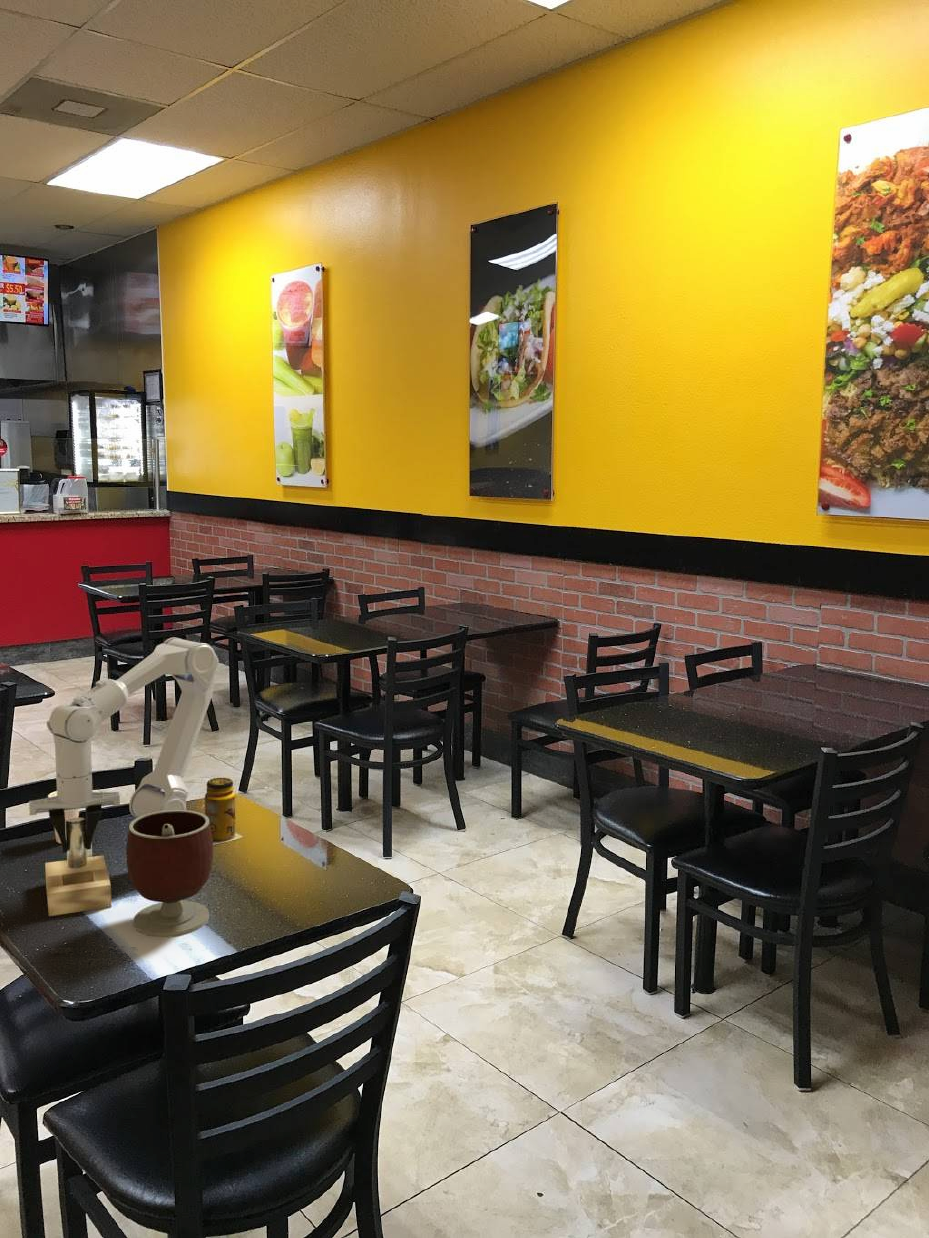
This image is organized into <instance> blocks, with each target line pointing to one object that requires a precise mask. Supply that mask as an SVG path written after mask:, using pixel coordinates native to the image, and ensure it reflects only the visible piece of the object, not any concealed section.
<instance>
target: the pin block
mask: <svg viewBox="0 0 929 1238" xmlns="http://www.w3.org/2000/svg"><path fill="white" fill-rule="evenodd" d="M105 859H106V858H105V855H97V856H92V857H87V865H86V866H84V867H81V868H69V867H68V866H67V859H66V860H57V861H51V862H49V861H48V862H45V863H44V865H45V867H44V868H45V869H44V870H45V888H46V898H47V900H46V901H47V908H48V909H47V910H48V912H47V913H48V916H49V917H52V916H60V915H67V914H74V913H79V912H85V911H92V910H99V909H107V908H112V888H111V887H112V885H111V879H110V876H109V872H108V867H107V863H106V860H105ZM106 907H107V908H106Z"/></svg>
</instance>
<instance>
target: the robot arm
mask: <svg viewBox="0 0 929 1238" xmlns="http://www.w3.org/2000/svg"><path fill="white" fill-rule="evenodd" d="M219 661H220V660H219V658H218V656H217V654H216V652H215V650H214V648H213V647H212V646H211V645H210V644H209V643H205V642H204V643H203V642H196V641H191V640H187V639H182V638H181V637H180V638H179V637H170V638H168V639H166V640H165V641H164V642H163V643H160V644H157V645H156V647H155V649H154V651H153V652H152V653H150V654H149V655H148V656H146V658H145V657H144V659H143V660H142V661H139V663H137V664H136V665H135V666H134V667H132V668H131V669H129V670H128V671H127V672H126V673H124V674H123V675H122V676H120V677H119V678H118V679H116V680H115V679H111V678H106V679H99V680H98V681H96V682H95V686H94V687H92V688H90V690H88V691H87V692H84V693H83V694H82V695H80V696H79V695H77V696H76V697H74V698H73V699H72V702H71V703H68V702H66V703H65V702H64V703H61V704H59V705H58V706H56V707H55V708H54V709H53V710H52V712H51V713H50V716H49V720H47V721H46V727H47V729H48V731H49V732H50V733H51V734H52V736H53V743H54V750H55V751H54V752H55V755H54V756H55V777H56V779H55V780H56V791H57V796H54V797H50V798H48V797H46V798H41V799H35V800H29V801H28V806H29V809H28V810H29V816H35V815H37V814H43V813H48V817H49V821H50V822H51V824H52V825H53V828H54V827H55V829H56V831H57V833H58V835H59V838H60V841H61V843H60V844H61V847H62V848H61V849H62V853H67V842H66V832H65V812H64V810H72V809H79V810H80V809H85V811H84V812H85V820H86V848H87V849H91V843H92V844H93V838H94V833H95V831H96V828H97V825H98V823H99V822H100V819H101V817H102V814H103V808H102V807H106V806H113V807H117V806H121V799H120V798H121V795H120V792H119V791H110V792H109V791H108V792H106V791H105V792H103V791H102V792H100V791H98V792H93V776H92V775H93V774H92V773H93V772H92V771H93V770H92V744H91V743H92V742H91V741H92V739H91V738H93V736H94V735H95V734H96V732H97V730H98V727H99V726H100V725H101V724H102V722H104V721H105V720H107V719H108V718H109V717H111V716H112V715H114V714H115V713H117V712H118V711H120V710H121V709H123V708H124V707H126V706H127V704H128V702H129V701H128V700H129V696H130V695H132V694H133V693H135V692H137V691H139V690H141V689H142V688H143V687H145V686H147V685H148V684H150V683H152V682H153V681H156V680H157V679H159V678H161V677H162V676H164V675H171V676H172V677H173V679H175V681H176V682H177V684H178V686H179V688H180V690H181V694H180V697H179V700H178V702H177V705H176V708H175V711H174V713H173V716H172V719H171V722H170V724H169V728H168V730H167V734H166V736H165V738H164V741H163V745H162V747H161V750H160V753H159V755H158V758H157V760H156V764H155V766H154V769H153V771H151V772H150V773H148V774H147V775H145V776H144V777H142V779H141V781H140V784H139V786H138V787H137V789H135V791H134V792H133V793H132V795H131V796H130V800H129V804H128V805H129V808H128V809H129V812H130V813H131V815H132V816H133V817H134V818H135V819H136V818H138V817H140V816H143V815H146V814H149V813H154V812H159V811H167V810H187V799H188V795H189V791H188V789H187V786H186V784H185V782H184V776H185V773H186V770H187V768H188V765H189V762H190V759H191V756H192V753H193V751H194V748H195V746H196V742H197V739H198V737H199V734H200V731H201V728H202V726H203V722H204V720H205V717H206V714H207V711H208V708H209V705H210V703H211V700H212V697H213V694H214V690H215V674H216V671H217V668H218V665H219ZM55 829H54V830H55Z"/></svg>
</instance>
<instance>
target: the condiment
mask: <svg viewBox="0 0 929 1238" xmlns="http://www.w3.org/2000/svg"><path fill="white" fill-rule="evenodd" d="M204 815H206V816H207V817H208V818H209V824H210V828H211V833H212V839H213V846H215V845H219V844H223V843H226V842H227V843H228V842H231V841H234V840H238V839H241V838H243V837H244V835H241V834H239V833H237V832H236V794H235V792H234V781H233V779H231V778H229V777H214V778H210V779H209V780H208V781H207V782H206V792H205V795H204Z"/></svg>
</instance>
